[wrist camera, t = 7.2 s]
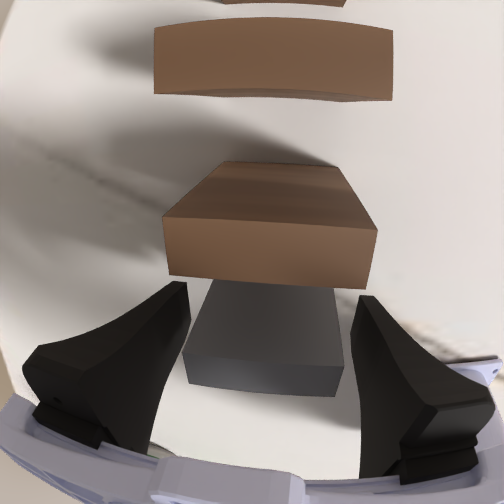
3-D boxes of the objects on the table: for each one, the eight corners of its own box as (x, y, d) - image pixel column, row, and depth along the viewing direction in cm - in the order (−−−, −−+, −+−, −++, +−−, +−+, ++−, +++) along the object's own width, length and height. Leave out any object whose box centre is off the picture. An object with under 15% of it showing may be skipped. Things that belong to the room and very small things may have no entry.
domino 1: (342, 102, 11) (391, 100, 5) (224, 97, 12) (154, 94, 6) (343, 66, 11) (393, 30, 5) (224, 62, 11) (154, 27, 5)
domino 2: (335, 202, 13) (365, 289, 7) (224, 195, 14) (169, 275, 8) (338, 167, 13) (377, 230, 7) (224, 161, 13) (162, 216, 7)
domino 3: (324, 285, 16) (334, 396, 9) (227, 278, 16) (188, 383, 10) (328, 257, 15) (344, 366, 9) (226, 251, 15) (182, 352, 9)
